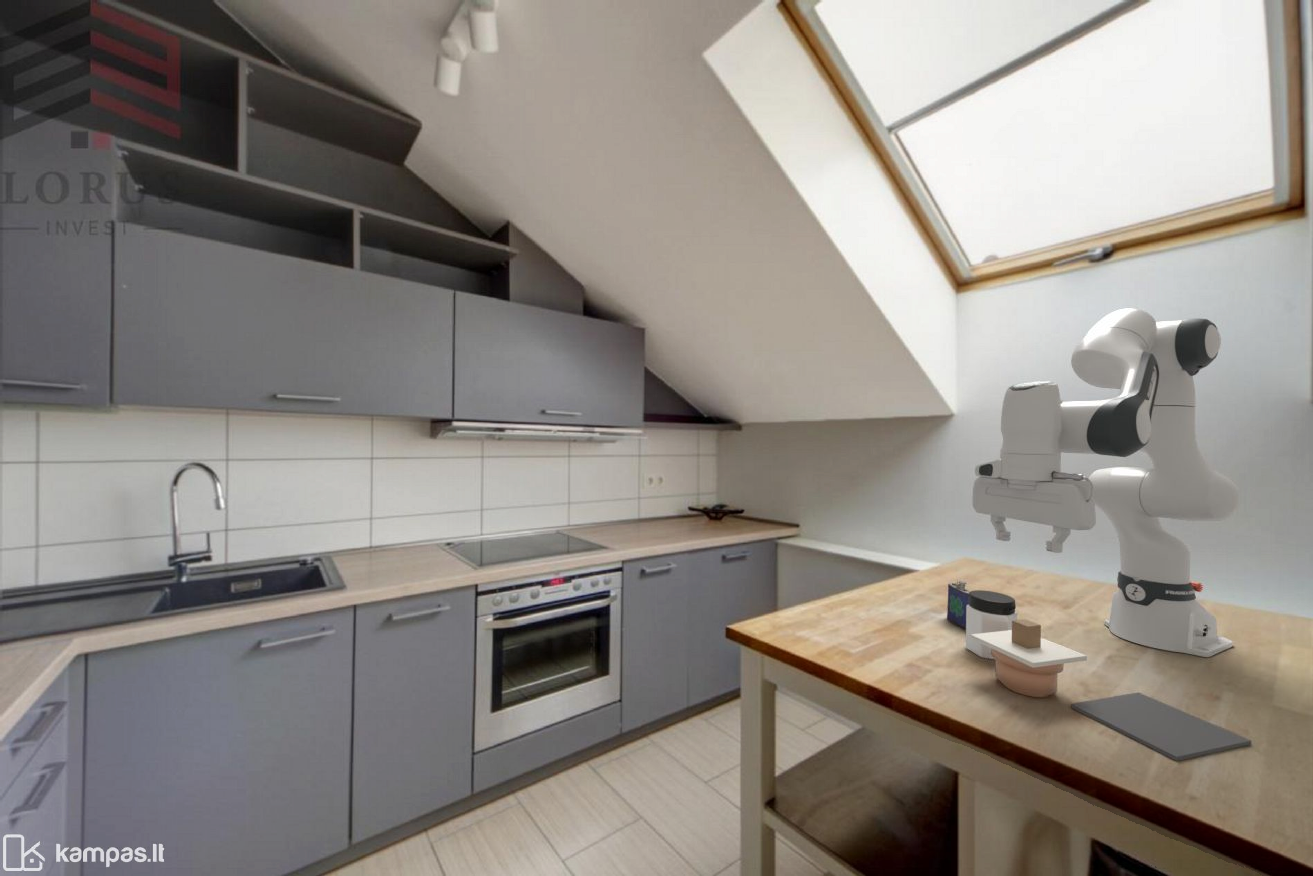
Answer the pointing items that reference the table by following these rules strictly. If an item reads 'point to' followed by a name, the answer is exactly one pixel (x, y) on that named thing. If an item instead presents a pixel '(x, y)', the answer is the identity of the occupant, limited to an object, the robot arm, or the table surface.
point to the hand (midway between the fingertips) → (1027, 545)
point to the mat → (1160, 726)
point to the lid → (1028, 645)
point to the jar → (987, 617)
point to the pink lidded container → (1026, 676)
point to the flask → (957, 603)
